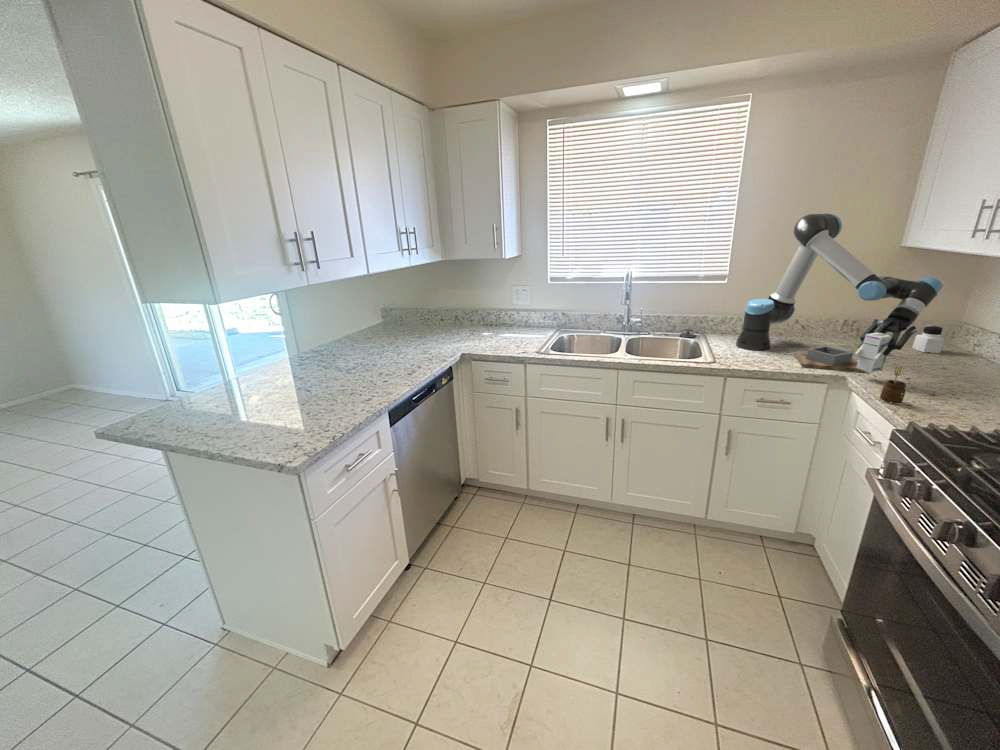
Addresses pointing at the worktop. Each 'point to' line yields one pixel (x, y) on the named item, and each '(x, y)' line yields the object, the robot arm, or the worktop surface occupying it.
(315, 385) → the worktop surface
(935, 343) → the medicine bottle
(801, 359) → the walnut board
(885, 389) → the brown potted plant
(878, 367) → the syrup box
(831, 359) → the holder
